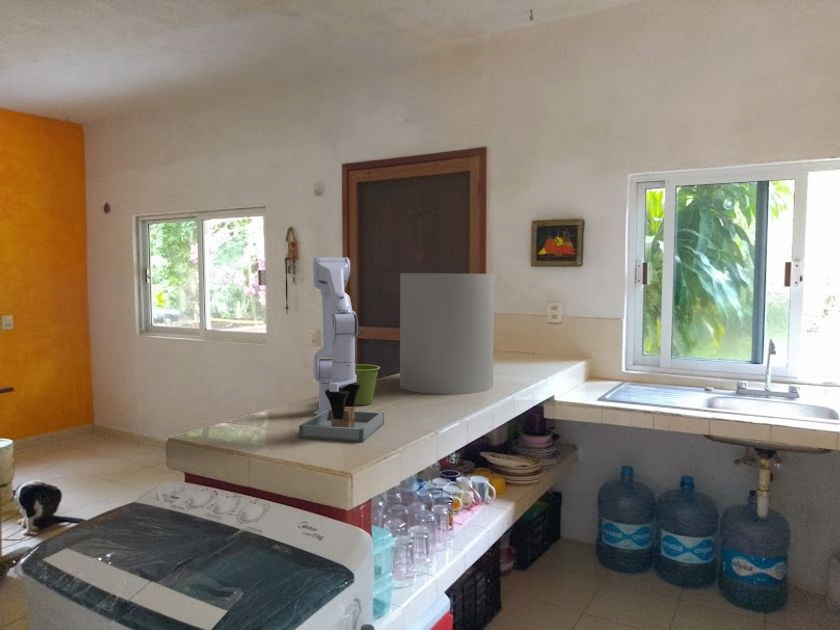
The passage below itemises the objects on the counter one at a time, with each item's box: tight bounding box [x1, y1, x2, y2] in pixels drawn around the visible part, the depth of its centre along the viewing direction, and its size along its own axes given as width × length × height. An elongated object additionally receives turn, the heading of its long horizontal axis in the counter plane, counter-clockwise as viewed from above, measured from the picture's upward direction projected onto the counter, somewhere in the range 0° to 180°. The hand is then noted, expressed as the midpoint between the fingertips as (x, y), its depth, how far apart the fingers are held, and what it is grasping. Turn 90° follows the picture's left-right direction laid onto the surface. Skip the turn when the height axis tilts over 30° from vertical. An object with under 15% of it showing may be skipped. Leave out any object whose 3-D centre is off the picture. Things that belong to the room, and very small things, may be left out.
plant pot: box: [354, 363, 381, 406], centre depth 182 cm, size 12×12×11 cm
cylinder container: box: [399, 272, 496, 395], centre depth 213 cm, size 34×33×40 cm
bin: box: [298, 409, 385, 443], centre depth 150 cm, size 18×16×3 cm
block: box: [331, 406, 356, 428], centre depth 150 cm, size 4×4×5 cm
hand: (343, 415), depth 150 cm, fingers open, 7 cm apart
